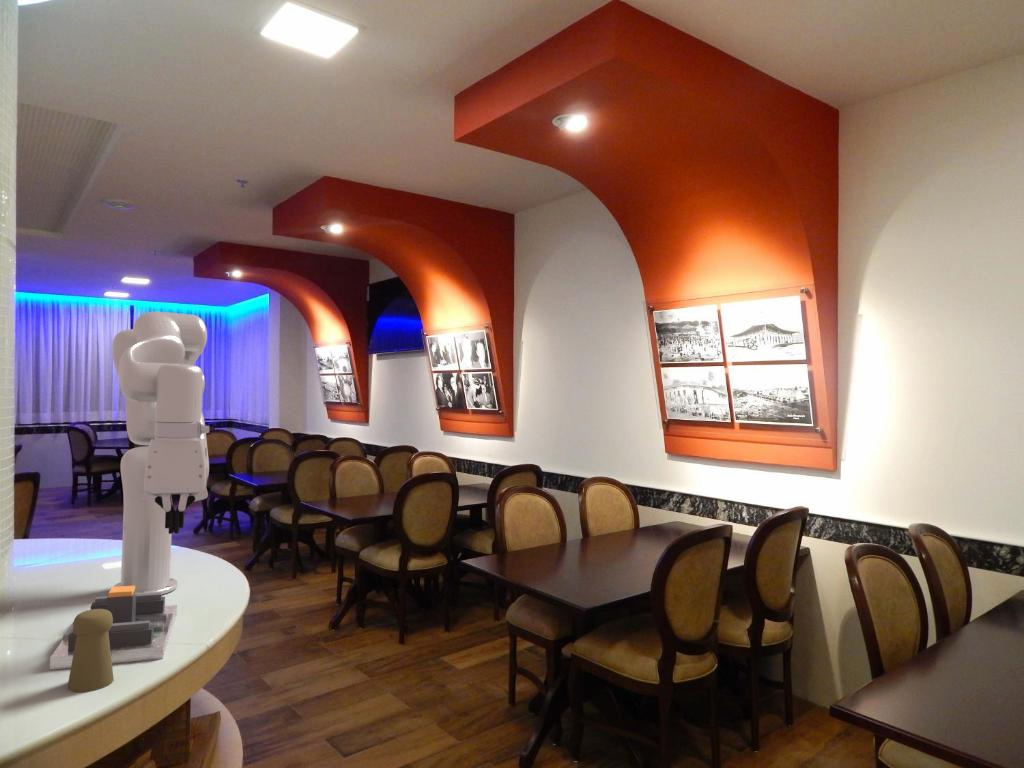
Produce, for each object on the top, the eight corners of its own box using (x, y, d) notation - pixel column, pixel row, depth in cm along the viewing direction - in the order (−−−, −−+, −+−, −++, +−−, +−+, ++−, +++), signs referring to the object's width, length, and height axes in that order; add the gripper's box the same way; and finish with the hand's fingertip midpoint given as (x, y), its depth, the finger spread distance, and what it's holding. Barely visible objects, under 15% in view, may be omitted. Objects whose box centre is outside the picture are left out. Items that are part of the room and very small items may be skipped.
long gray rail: (93, 614, 126) (93, 596, 126) (164, 608, 130) (165, 591, 130) (67, 651, 109) (68, 630, 109) (151, 643, 113) (151, 623, 113)
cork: (91, 694, 99) (94, 619, 99) (57, 689, 100) (60, 615, 100) (123, 677, 105) (125, 606, 105) (90, 672, 106) (92, 603, 106)
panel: (82, 622, 127) (83, 608, 127) (176, 615, 133) (177, 601, 133) (49, 669, 106) (50, 652, 106) (162, 658, 112) (163, 641, 112)
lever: (109, 624, 121) (111, 586, 121) (135, 622, 122) (136, 585, 122) (105, 632, 117) (106, 593, 117) (131, 630, 118) (132, 591, 118)
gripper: (223, 430, 129) (219, 526, 128) (135, 430, 123) (131, 529, 123) (221, 433, 122) (217, 534, 121) (128, 432, 116) (123, 538, 116)
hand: (174, 531), depth 122 cm, fingers closed
